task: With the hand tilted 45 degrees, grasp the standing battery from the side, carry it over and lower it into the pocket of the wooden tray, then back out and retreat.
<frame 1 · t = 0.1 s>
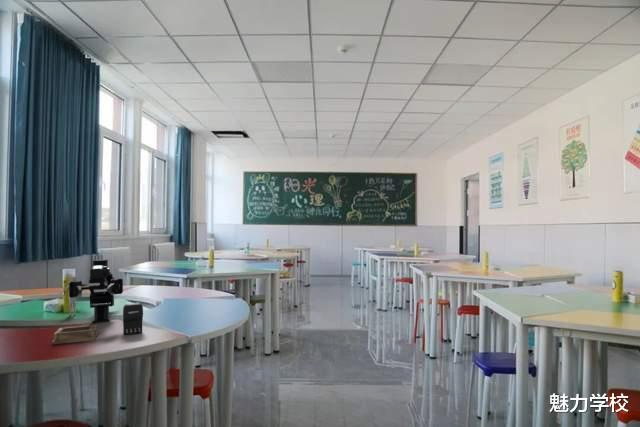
hand: (93, 290, 152), 17 cm above the table, tool horizontal, fingers open, 9 cm apart
wooden tray: (76, 338, 146), on the table
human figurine: (72, 315, 187), on the table
battery: (133, 334, 153), on the table
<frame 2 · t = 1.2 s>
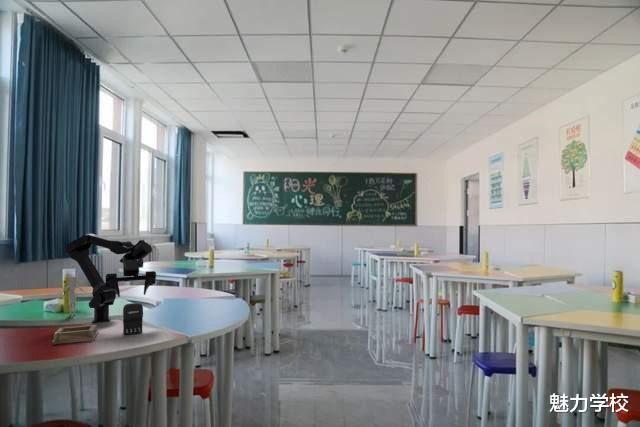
hand: (132, 295, 160), 13 cm above the table, tool tilted 45°, fingers open, 9 cm apart
nothing on the table moved.
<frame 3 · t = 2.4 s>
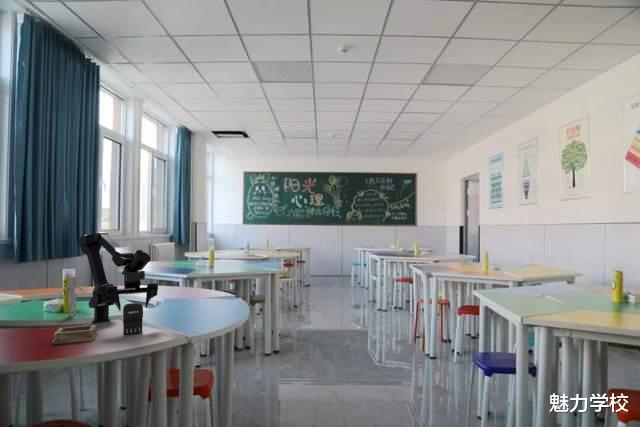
hand: (133, 308, 155), 9 cm above the table, tool tilted 45°, fingers open, 9 cm apart
nothing on the table moved.
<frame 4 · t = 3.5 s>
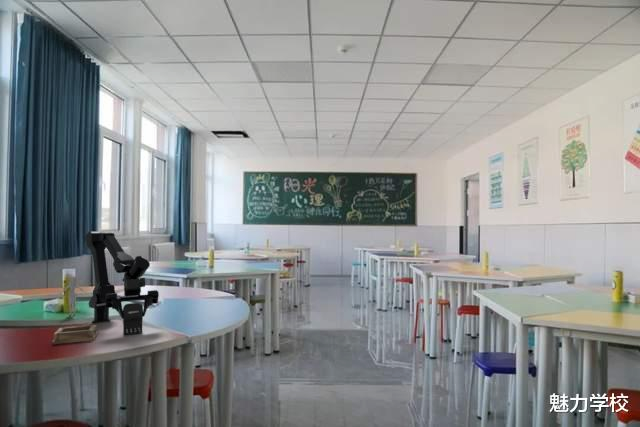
hand: (133, 317, 152), 7 cm above the table, tool tilted 45°, fingers closed on battery, 7 cm apart
battery: (133, 334, 153), on the table, touching gripper
everything else where it was.
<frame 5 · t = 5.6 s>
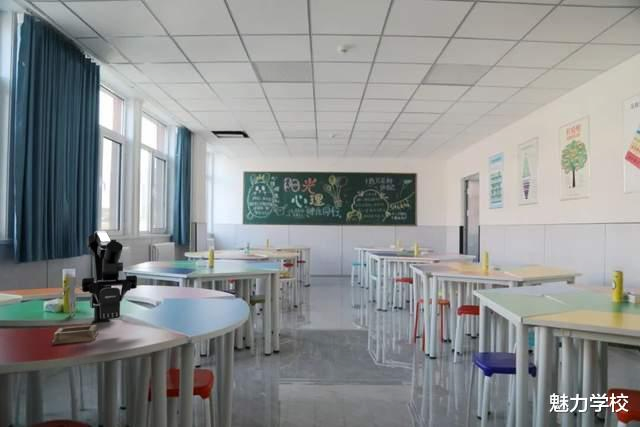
hand: (109, 301, 150), 13 cm above the table, tool tilted 45°, fingers closed on battery, 7 cm apart
battery: (110, 319, 151), point 6 cm above the table, touching gripper
everything else where it was.
when the fingers open (9 cm above the table, at t = 7.6 s): battery stays where it is, resting on wooden tray.
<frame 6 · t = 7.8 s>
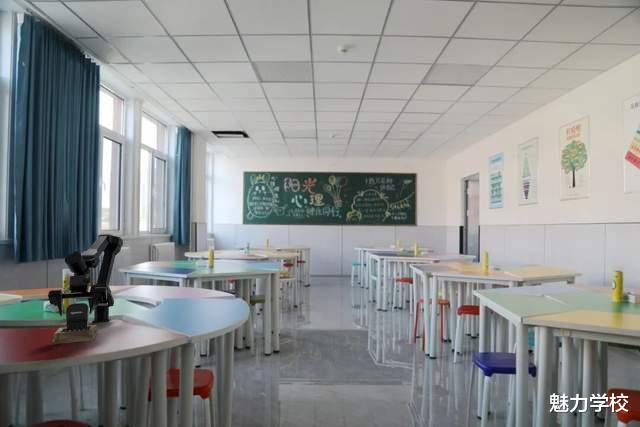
hand: (75, 314, 145), 9 cm above the table, tool tilted 45°, fingers open, 9 cm apart
battery: (76, 335, 147), point 1 cm above the table, touching wooden tray
everything else where it was.
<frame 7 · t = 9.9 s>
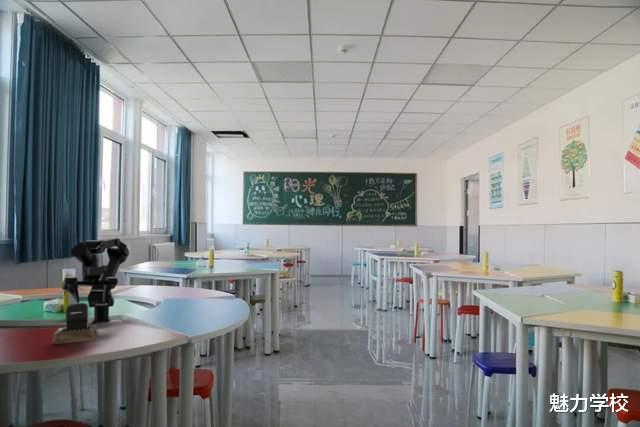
hand: (91, 302, 156), 11 cm above the table, tool tilted 35°, fingers open, 9 cm apart
nothing on the table moved.
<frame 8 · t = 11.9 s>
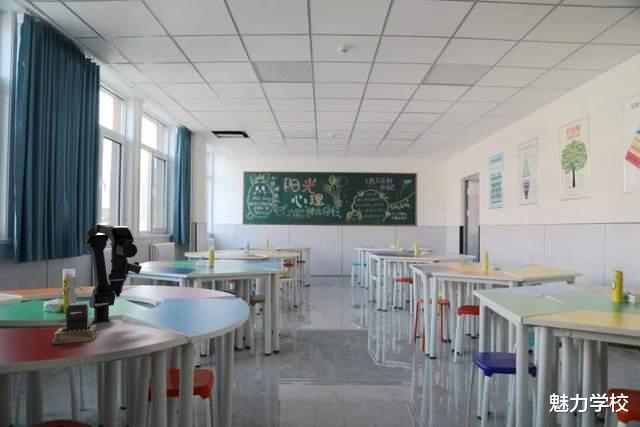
hand: (119, 295, 164), 13 cm above the table, tool pointing down, fingers open, 9 cm apart
nothing on the table moved.
at the end: battery inside the target area on the wooden tray (0.3 cm from its centre), point 1.0 cm above the wooden tray's base; battery tilted 0°; the gripper is holding nothing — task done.
